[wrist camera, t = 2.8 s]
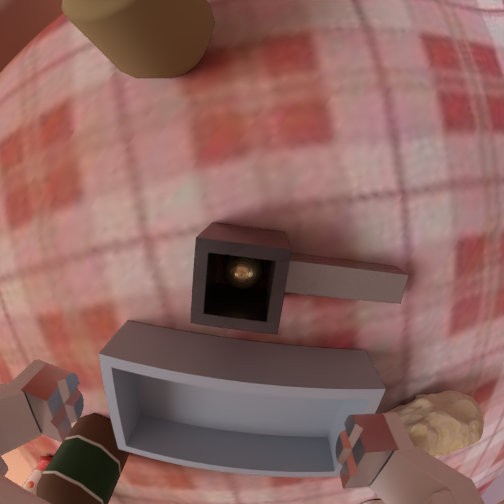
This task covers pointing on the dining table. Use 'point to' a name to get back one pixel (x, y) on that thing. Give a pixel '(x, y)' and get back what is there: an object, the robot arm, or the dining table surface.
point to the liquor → (36, 474)
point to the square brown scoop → (277, 279)
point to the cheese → (442, 421)
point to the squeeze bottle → (146, 33)
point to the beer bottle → (84, 465)
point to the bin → (234, 400)
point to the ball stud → (242, 270)
